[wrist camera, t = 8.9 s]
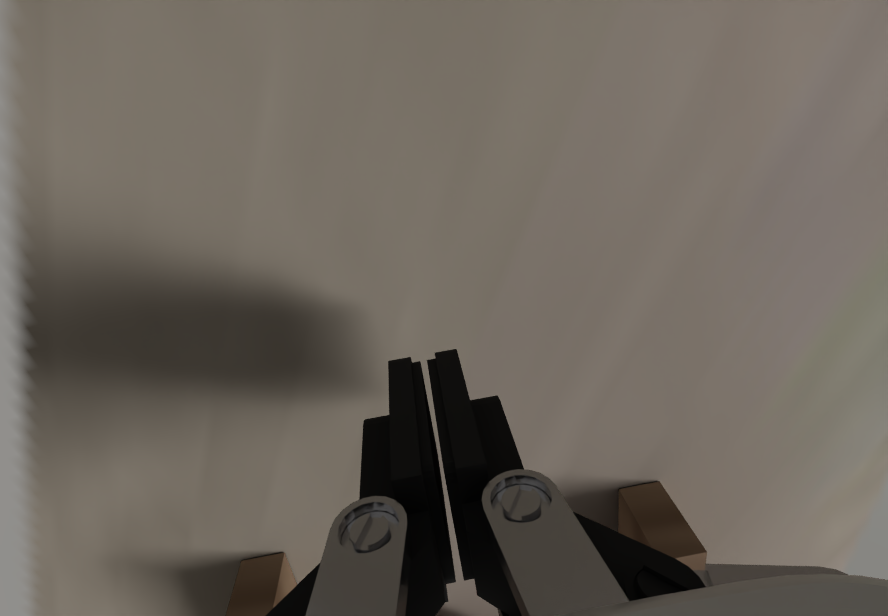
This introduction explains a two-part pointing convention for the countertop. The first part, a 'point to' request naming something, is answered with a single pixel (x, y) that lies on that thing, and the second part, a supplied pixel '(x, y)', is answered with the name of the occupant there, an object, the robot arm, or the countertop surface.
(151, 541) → the countertop surface
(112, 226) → the countertop surface
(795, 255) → the countertop surface
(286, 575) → the corral
